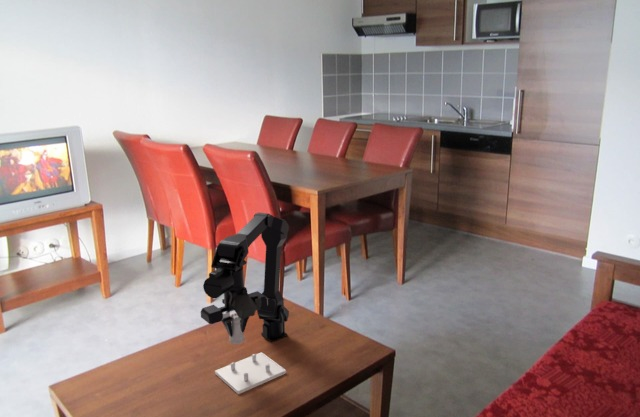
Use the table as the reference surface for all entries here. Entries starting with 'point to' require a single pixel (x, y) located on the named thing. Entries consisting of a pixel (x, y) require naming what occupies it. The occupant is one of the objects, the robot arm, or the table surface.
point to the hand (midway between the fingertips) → (236, 334)
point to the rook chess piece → (236, 330)
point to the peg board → (249, 372)
